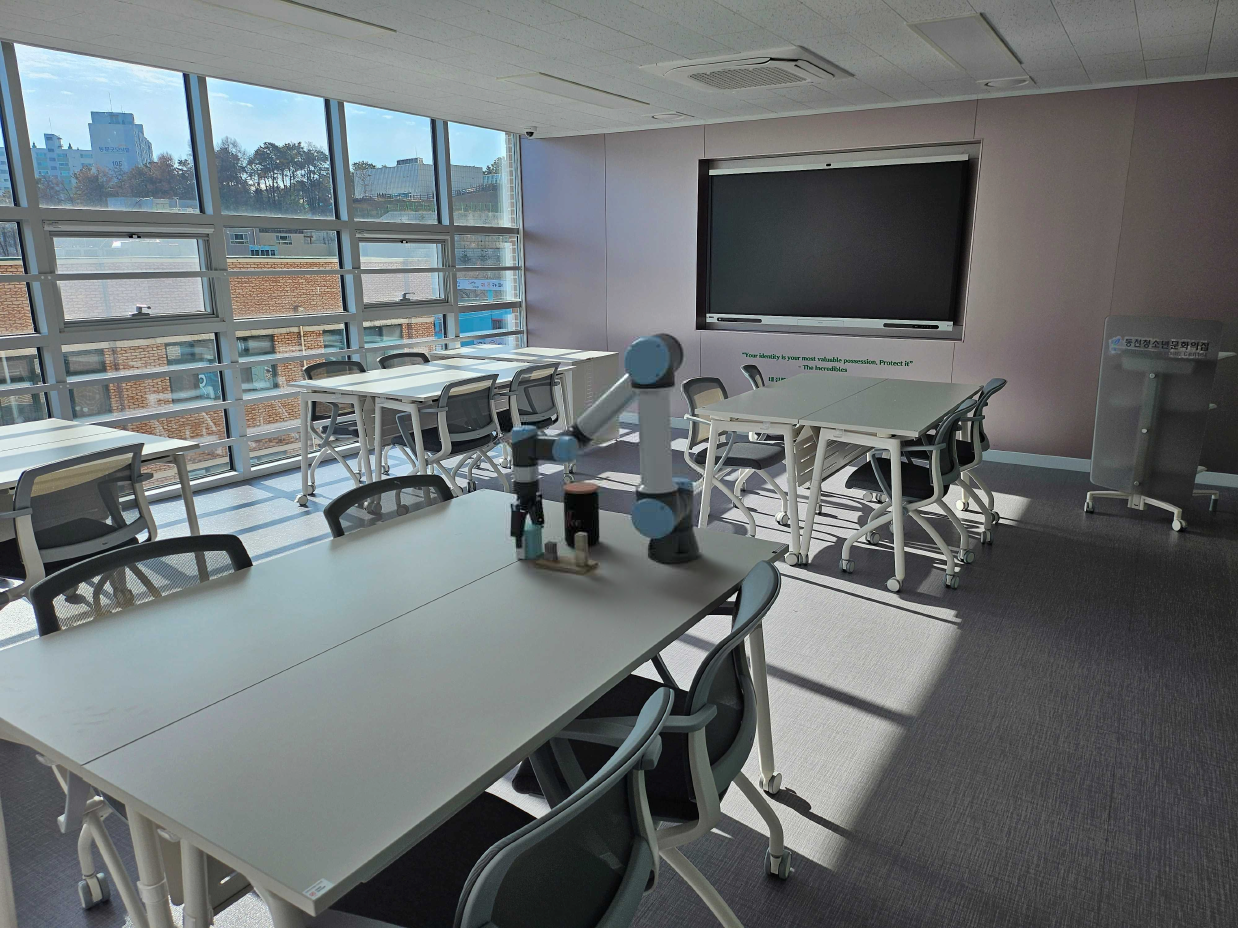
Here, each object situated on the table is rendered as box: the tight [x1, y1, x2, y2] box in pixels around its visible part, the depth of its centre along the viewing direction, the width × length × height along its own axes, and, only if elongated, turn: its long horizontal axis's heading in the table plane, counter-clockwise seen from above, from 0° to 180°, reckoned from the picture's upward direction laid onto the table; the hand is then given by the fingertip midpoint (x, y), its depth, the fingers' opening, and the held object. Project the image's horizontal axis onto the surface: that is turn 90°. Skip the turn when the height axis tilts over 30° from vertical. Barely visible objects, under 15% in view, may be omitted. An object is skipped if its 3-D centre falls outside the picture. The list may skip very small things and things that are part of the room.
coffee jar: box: [562, 481, 601, 548], centre depth 254 cm, size 11×11×18 cm
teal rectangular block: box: [523, 522, 543, 560], centre depth 246 cm, size 6×6×9 cm
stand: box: [534, 532, 599, 575], centre depth 235 cm, size 8×16×10 cm, turn 63°
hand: (528, 553), depth 247 cm, fingers open, 8 cm apart
